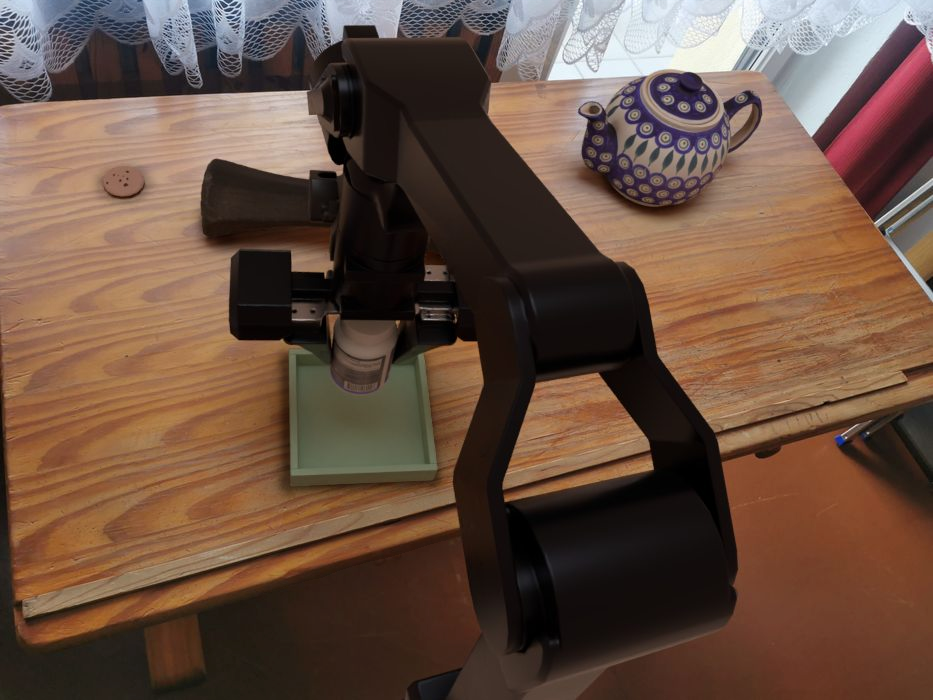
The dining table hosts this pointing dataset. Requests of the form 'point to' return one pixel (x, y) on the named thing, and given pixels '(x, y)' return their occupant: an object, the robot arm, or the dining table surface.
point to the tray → (359, 426)
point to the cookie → (123, 181)
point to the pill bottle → (362, 354)
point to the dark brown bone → (254, 200)
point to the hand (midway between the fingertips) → (361, 359)
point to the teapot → (664, 136)
